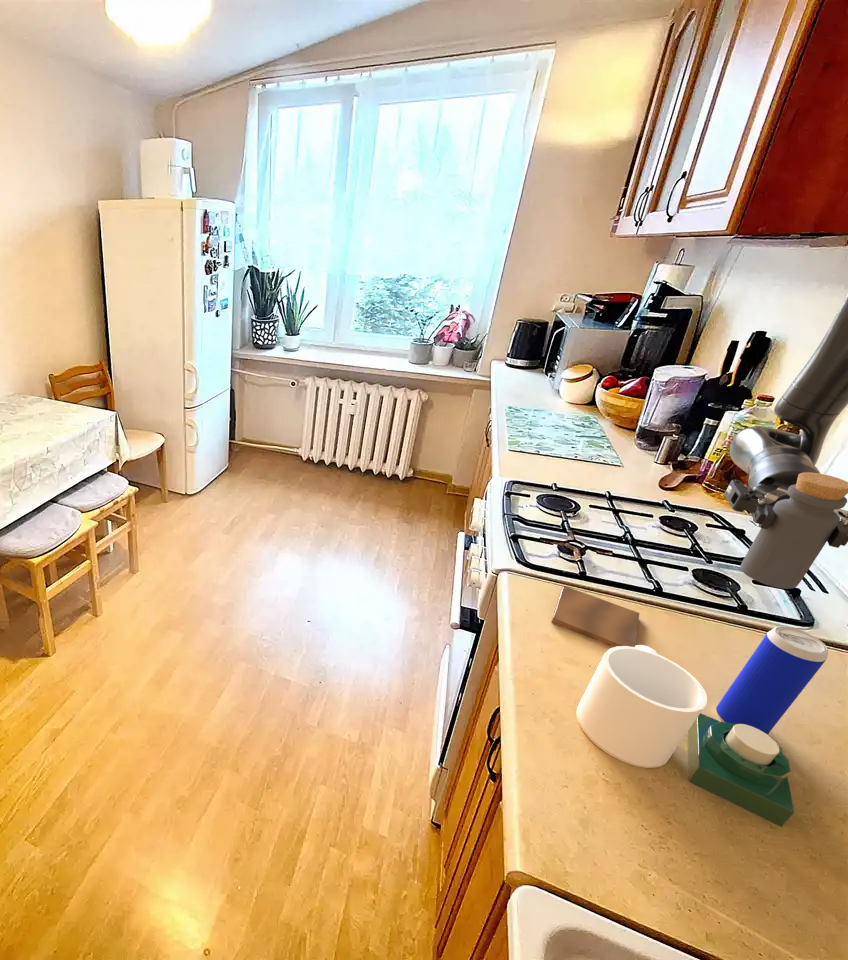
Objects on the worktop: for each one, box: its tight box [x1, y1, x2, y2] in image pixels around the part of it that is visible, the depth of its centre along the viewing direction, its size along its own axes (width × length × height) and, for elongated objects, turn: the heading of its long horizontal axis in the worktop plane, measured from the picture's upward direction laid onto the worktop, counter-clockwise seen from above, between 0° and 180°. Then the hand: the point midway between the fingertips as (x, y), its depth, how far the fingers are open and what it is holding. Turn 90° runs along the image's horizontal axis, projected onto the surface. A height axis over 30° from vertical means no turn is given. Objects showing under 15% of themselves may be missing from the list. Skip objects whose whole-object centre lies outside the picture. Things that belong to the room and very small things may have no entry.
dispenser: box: [687, 712, 795, 827], centre depth 62 cm, size 10×8×4 cm
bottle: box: [739, 472, 848, 590], centre depth 68 cm, size 6×6×15 cm
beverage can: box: [715, 625, 829, 736], centre depth 66 cm, size 5×5×15 cm
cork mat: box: [551, 585, 640, 648], centre depth 86 cm, size 11×11×1 cm
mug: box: [575, 644, 708, 769], centre depth 66 cm, size 13×10×10 cm
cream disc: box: [725, 724, 780, 766], centre depth 61 cm, size 4×4×2 cm
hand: (802, 531), depth 66 cm, fingers closed on bottle, 6 cm apart
